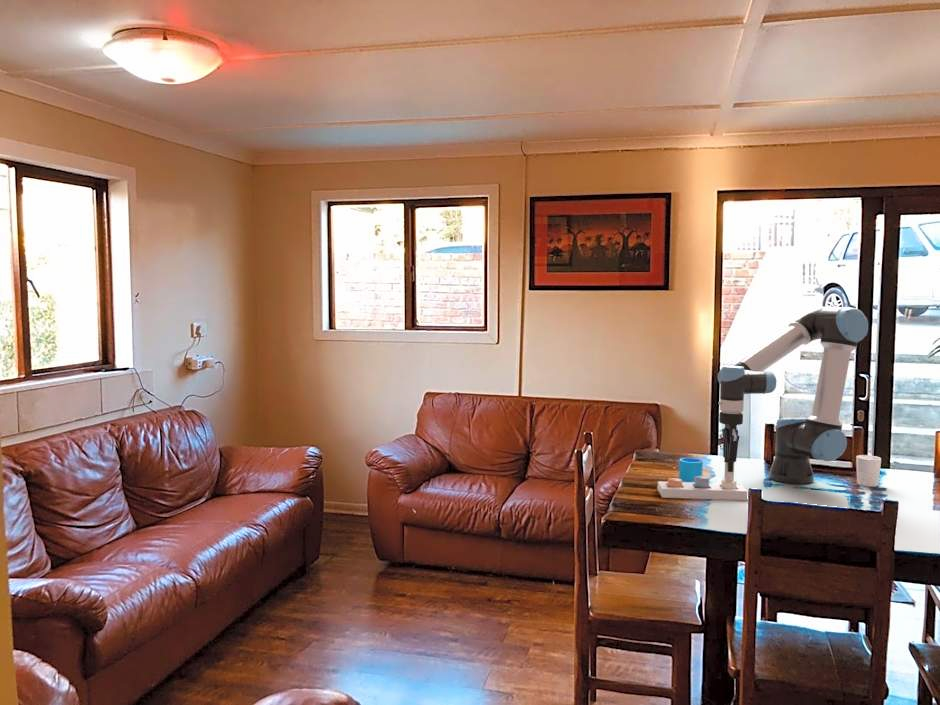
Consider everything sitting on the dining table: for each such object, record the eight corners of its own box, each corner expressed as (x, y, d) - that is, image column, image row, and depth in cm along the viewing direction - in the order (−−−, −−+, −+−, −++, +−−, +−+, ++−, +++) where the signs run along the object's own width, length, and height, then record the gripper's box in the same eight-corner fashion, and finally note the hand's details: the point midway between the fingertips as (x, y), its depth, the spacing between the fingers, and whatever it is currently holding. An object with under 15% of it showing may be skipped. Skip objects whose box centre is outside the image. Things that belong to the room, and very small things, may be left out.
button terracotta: (680, 489, 254) (680, 478, 254) (683, 493, 249) (683, 481, 249) (666, 489, 254) (666, 477, 254) (668, 492, 250) (669, 481, 249)
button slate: (707, 487, 253) (707, 476, 253) (710, 491, 248) (710, 479, 248) (693, 487, 253) (693, 475, 253) (695, 490, 249) (696, 479, 248)
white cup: (878, 483, 268) (880, 456, 267) (880, 488, 260) (882, 460, 260) (854, 480, 271) (855, 454, 270) (855, 485, 264) (857, 458, 263)
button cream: (734, 491, 252) (734, 479, 252) (737, 494, 247) (738, 483, 247) (719, 490, 253) (720, 479, 252) (723, 494, 248) (723, 482, 248)
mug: (706, 484, 265) (707, 462, 264) (686, 485, 263) (686, 463, 262) (688, 476, 277) (689, 455, 276) (669, 477, 275) (669, 456, 274)
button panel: (739, 492, 255) (740, 483, 254) (747, 500, 245) (748, 491, 244) (657, 489, 257) (657, 481, 257) (662, 497, 247) (662, 488, 247)
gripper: (715, 408, 255) (713, 475, 256) (724, 414, 242) (722, 485, 244) (737, 409, 254) (735, 476, 256) (748, 415, 241) (745, 485, 243)
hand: (728, 480), depth 250 cm, fingers closed
